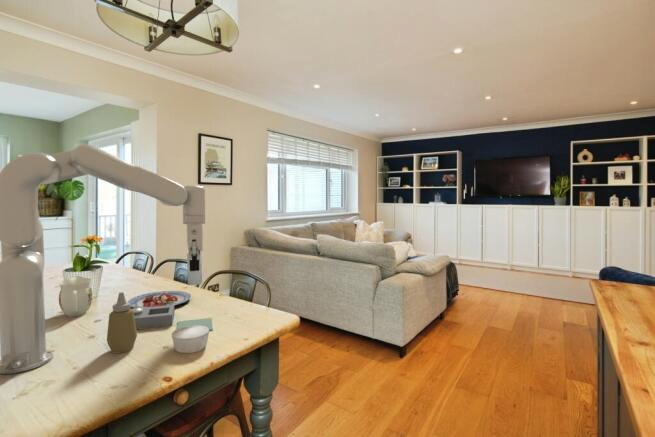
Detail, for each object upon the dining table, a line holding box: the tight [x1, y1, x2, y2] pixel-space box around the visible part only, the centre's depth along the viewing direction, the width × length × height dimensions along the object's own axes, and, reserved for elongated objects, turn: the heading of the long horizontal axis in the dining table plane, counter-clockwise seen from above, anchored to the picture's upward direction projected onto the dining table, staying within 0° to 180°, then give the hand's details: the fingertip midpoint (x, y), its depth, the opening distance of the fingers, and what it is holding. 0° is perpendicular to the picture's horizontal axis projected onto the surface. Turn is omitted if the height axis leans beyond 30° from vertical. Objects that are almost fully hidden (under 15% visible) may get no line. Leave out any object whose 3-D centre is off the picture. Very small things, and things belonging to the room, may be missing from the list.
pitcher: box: [58, 275, 93, 317], centre depth 135 cm, size 11×18×14 cm, turn 34°
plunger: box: [131, 307, 143, 315], centre depth 126 cm, size 4×4×4 cm
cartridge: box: [186, 250, 203, 286], centre depth 123 cm, size 5×5×12 cm
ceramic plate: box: [127, 290, 192, 309], centre depth 152 cm, size 26×26×3 cm
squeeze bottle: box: [106, 292, 138, 354], centre depth 105 cm, size 8×8×18 cm
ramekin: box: [171, 325, 210, 354], centre depth 107 cm, size 11×11×5 cm
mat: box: [176, 317, 214, 332], centre depth 125 cm, size 12×12×1 cm
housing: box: [134, 305, 175, 330], centre depth 128 cm, size 16×12×4 cm
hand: (194, 268), depth 123 cm, fingers closed on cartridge, 5 cm apart
